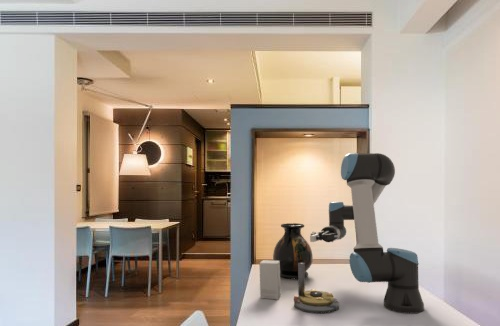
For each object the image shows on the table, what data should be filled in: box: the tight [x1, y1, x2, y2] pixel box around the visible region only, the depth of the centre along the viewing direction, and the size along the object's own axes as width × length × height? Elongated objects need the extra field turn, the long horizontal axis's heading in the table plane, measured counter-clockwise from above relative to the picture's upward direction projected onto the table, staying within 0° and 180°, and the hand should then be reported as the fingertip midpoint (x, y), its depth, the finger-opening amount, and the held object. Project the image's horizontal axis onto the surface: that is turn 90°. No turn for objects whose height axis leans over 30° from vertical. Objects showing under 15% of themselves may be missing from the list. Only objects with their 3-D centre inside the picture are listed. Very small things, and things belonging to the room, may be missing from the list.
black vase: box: [272, 222, 313, 280], centre depth 203 cm, size 22×22×28 cm
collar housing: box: [293, 290, 340, 315], centre depth 153 cm, size 18×18×5 cm
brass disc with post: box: [297, 263, 334, 306], centre depth 153 cm, size 14×14×15 cm
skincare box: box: [259, 259, 281, 300], centre depth 165 cm, size 8×7×16 cm
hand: (311, 238), depth 165 cm, fingers closed
